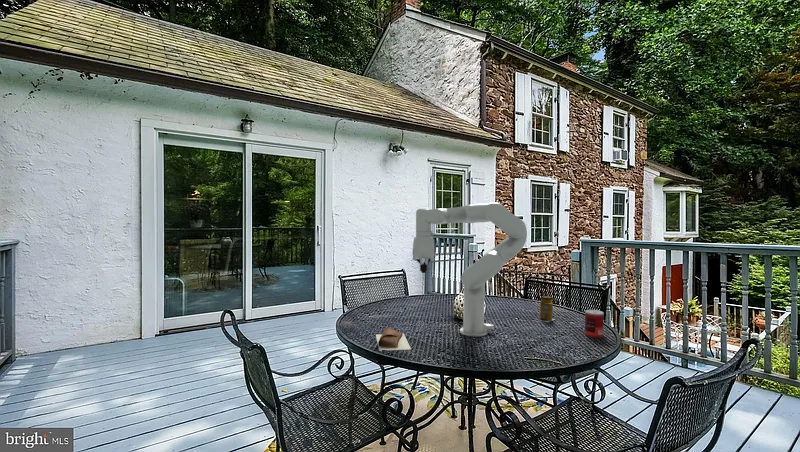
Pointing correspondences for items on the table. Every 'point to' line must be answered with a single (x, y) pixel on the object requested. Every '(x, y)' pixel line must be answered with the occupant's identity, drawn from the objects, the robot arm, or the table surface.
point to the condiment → (546, 309)
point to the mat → (401, 344)
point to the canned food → (594, 323)
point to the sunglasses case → (389, 338)
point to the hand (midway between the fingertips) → (423, 272)
